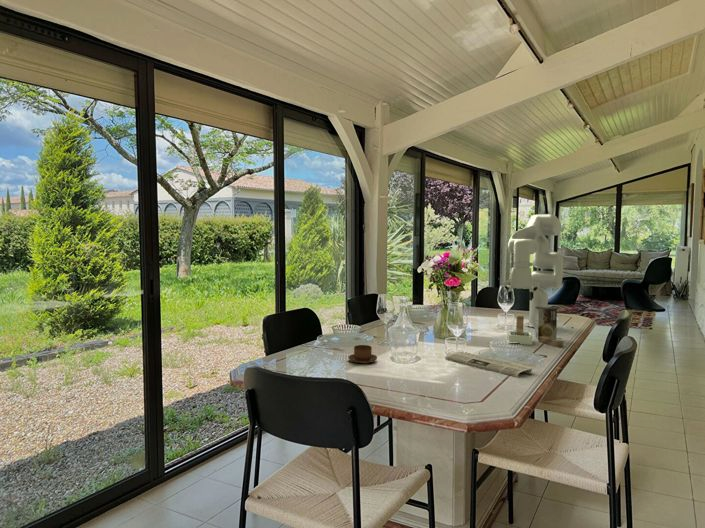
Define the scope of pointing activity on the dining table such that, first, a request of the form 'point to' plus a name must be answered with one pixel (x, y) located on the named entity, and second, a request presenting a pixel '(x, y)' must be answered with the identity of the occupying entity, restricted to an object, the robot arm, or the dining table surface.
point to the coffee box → (545, 322)
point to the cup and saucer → (362, 354)
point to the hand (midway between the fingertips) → (520, 299)
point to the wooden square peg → (519, 324)
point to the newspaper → (490, 363)
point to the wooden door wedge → (550, 341)
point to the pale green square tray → (520, 337)
